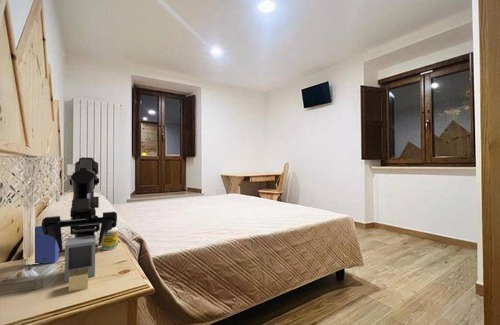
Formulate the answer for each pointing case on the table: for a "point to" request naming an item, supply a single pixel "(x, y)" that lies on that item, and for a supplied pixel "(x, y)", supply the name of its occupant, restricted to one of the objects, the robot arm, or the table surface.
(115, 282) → the table surface
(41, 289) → the table surface
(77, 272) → the brass cube
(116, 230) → the supplement bottle
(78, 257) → the grey hollow block
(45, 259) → the walkman
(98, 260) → the table surface
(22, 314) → the table surface
